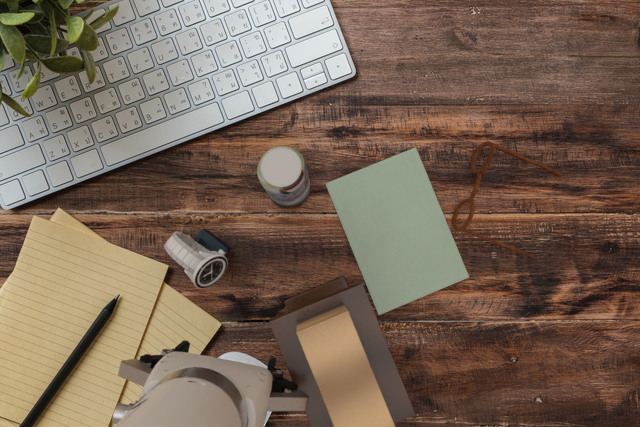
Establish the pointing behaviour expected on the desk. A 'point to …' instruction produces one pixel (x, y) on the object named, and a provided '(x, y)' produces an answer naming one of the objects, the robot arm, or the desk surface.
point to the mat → (397, 230)
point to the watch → (199, 256)
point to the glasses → (479, 175)
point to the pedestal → (369, 338)
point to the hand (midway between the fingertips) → (227, 363)
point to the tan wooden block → (342, 369)
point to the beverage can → (284, 176)
